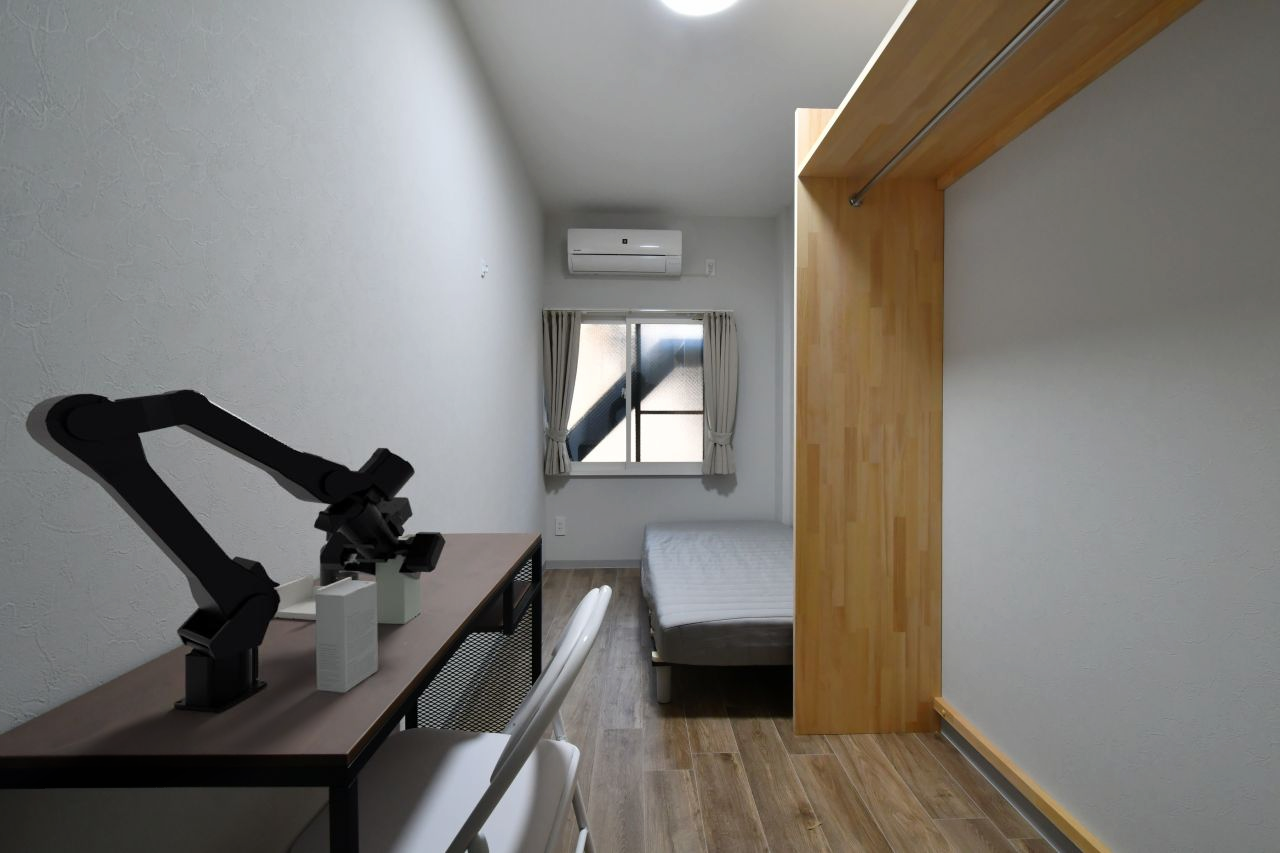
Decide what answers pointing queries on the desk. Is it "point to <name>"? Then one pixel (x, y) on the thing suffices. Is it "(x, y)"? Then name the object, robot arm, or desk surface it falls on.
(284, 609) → the tray
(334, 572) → the supplement bottle
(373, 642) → the skincare box
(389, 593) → the sage ceramic block
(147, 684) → the desk surface
